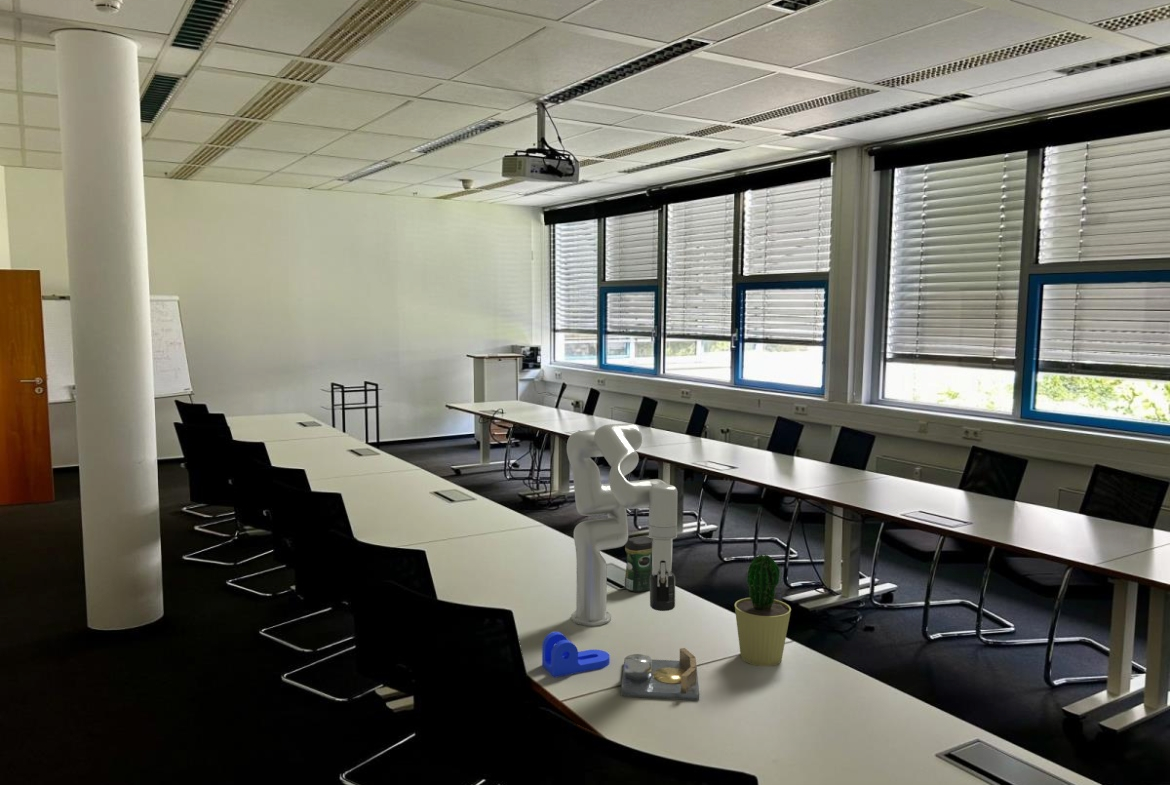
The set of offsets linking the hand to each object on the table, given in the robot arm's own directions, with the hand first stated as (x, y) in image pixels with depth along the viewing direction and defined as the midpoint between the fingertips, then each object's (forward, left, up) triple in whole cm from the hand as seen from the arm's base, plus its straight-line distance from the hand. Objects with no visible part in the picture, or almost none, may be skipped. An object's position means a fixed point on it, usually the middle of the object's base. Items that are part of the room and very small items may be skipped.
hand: (662, 595), depth 218 cm
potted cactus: (-11, +28, -21) cm, 36 cm away
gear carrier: (+7, -1, -20) cm, 22 cm away
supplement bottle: (0, 0, -3) cm, 3 cm away
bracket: (0, -23, -21) cm, 31 cm away
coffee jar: (-66, -8, -21) cm, 69 cm away
